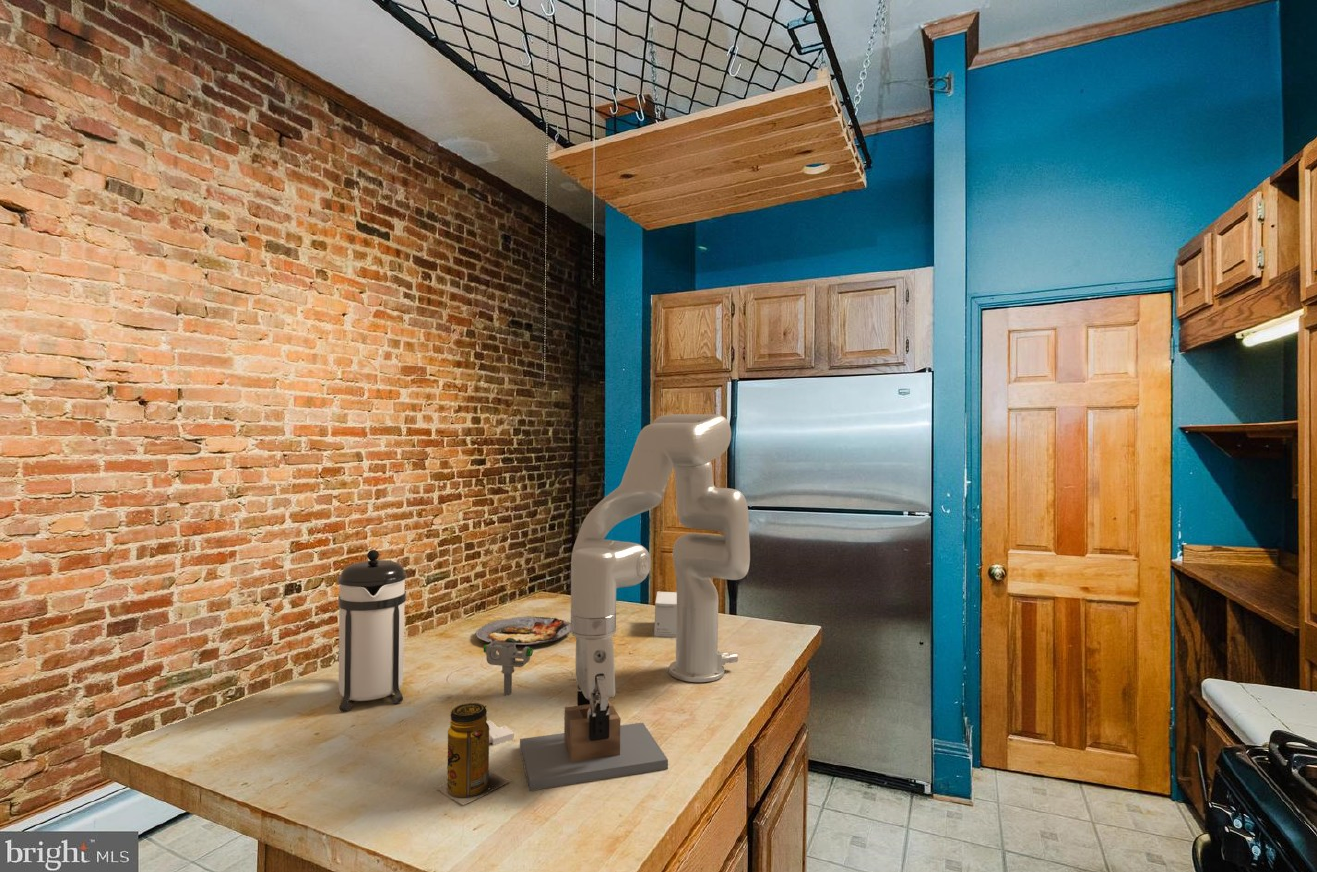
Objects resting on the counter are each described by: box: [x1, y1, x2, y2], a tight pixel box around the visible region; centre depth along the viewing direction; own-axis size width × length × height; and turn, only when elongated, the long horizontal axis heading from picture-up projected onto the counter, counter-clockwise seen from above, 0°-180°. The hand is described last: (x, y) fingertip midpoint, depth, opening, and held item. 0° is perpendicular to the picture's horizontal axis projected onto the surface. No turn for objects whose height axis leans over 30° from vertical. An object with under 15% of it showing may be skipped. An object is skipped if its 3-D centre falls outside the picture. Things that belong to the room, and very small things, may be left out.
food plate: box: [475, 615, 571, 646], centre depth 171 cm, size 25×23×4 cm
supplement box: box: [653, 591, 677, 638], centre depth 178 cm, size 17×13×9 cm
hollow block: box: [563, 701, 621, 762], centre depth 107 cm, size 8×7×6 cm
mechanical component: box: [483, 642, 534, 696], centre depth 133 cm, size 3×10×10 cm, turn 78°
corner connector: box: [486, 720, 515, 746], centre depth 114 cm, size 8×8×2 cm
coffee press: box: [337, 549, 408, 713], centre depth 131 cm, size 17×16×30 cm
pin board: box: [519, 708, 669, 792], centre depth 107 cm, size 22×14×8 cm, turn 108°
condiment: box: [435, 702, 511, 806], centre depth 98 cm, size 7×8×12 cm
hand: (592, 725), depth 107 cm, fingers open, 9 cm apart
